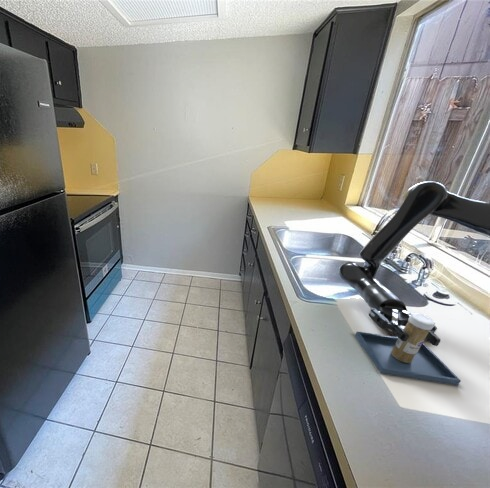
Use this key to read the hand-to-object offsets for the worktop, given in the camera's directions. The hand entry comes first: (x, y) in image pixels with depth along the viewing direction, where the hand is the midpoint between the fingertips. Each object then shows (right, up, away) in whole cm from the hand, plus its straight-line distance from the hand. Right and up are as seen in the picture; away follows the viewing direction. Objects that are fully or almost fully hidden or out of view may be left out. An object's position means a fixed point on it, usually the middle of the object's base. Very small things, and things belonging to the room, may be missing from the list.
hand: (421, 341), depth 64 cm
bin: (+10, -2, +17) cm, 20 cm away
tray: (0, -7, +6) cm, 9 cm away
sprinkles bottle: (0, -7, +6) cm, 9 cm away
